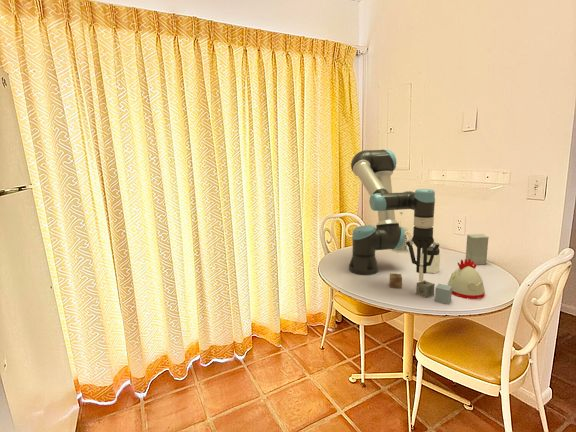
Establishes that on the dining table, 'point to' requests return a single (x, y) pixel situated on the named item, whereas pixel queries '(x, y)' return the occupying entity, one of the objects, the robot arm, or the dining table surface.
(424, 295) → the dice cube
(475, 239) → the skincare box
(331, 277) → the dining table surface
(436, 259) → the jar
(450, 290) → the slate block
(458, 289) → the kitchen timer
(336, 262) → the dining table surface
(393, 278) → the walnut block
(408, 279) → the dining table surface
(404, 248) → the french press
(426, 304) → the dining table surface
